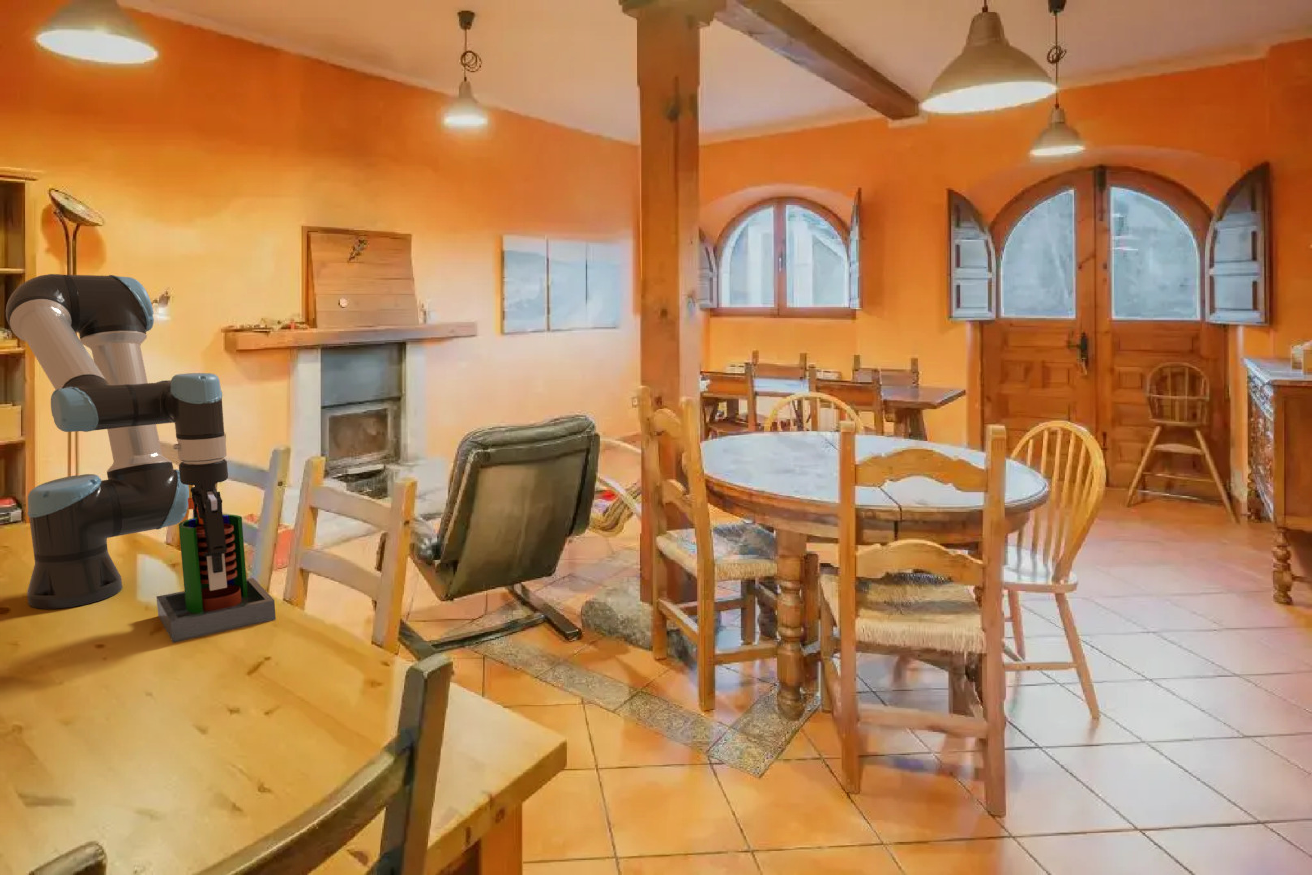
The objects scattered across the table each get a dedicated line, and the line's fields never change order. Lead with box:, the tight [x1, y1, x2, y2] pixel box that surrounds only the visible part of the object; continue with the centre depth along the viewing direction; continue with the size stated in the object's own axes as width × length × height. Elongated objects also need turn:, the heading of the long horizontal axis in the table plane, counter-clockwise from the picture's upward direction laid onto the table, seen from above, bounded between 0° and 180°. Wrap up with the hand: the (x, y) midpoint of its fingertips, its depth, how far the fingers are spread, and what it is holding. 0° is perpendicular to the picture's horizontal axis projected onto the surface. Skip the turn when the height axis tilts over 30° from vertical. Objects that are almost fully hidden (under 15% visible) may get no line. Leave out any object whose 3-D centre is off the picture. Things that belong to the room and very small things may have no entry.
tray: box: [156, 577, 277, 644], centre depth 146 cm, size 15×16×4 cm
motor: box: [178, 497, 248, 614], centre depth 144 cm, size 10×9×20 cm
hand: (213, 582), depth 145 cm, fingers closed on motor, 7 cm apart
